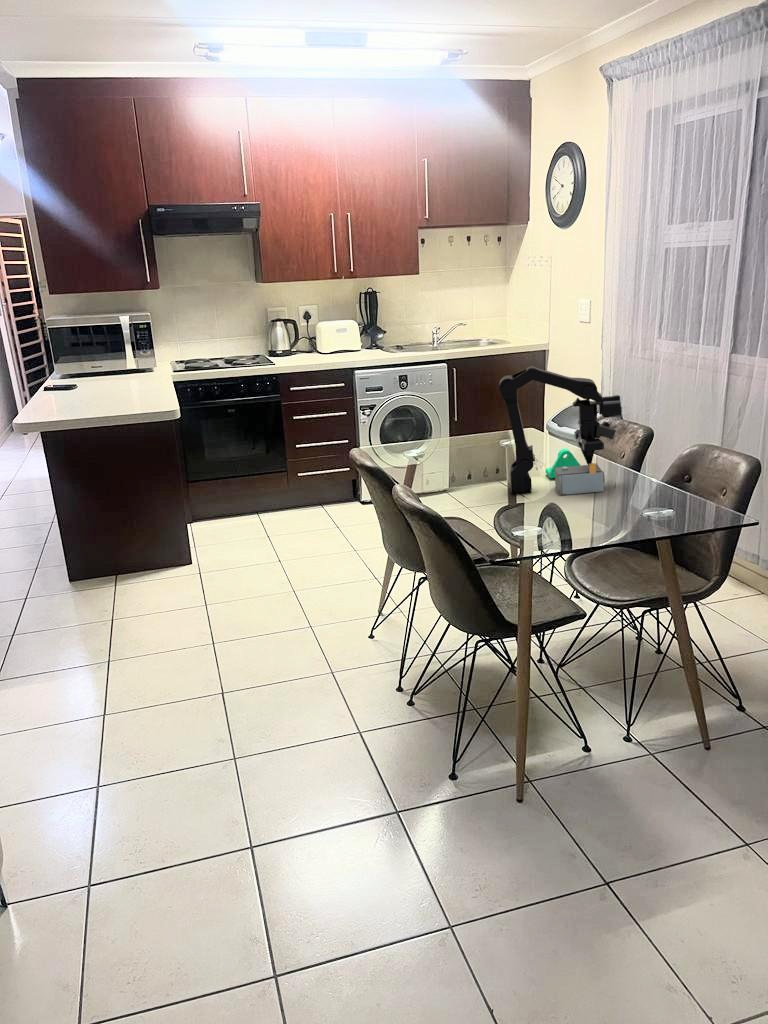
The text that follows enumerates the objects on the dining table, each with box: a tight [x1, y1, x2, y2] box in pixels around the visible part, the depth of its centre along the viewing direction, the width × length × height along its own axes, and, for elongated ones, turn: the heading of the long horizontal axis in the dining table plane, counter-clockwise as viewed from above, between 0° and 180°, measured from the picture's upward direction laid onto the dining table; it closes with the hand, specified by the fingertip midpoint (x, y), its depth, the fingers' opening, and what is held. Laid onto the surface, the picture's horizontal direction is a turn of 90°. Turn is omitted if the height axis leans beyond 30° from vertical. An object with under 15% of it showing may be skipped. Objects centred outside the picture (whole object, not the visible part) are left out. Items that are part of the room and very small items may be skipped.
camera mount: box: [545, 448, 581, 479], centre depth 266 cm, size 12×8×10 cm, turn 91°
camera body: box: [554, 463, 606, 493], centre depth 250 cm, size 15×8×8 cm, turn 86°
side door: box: [558, 462, 605, 496], centre depth 245 cm, size 14×1×10 cm, turn 86°
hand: (589, 464), depth 249 cm, fingers closed
